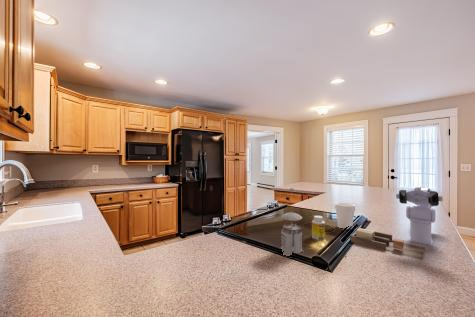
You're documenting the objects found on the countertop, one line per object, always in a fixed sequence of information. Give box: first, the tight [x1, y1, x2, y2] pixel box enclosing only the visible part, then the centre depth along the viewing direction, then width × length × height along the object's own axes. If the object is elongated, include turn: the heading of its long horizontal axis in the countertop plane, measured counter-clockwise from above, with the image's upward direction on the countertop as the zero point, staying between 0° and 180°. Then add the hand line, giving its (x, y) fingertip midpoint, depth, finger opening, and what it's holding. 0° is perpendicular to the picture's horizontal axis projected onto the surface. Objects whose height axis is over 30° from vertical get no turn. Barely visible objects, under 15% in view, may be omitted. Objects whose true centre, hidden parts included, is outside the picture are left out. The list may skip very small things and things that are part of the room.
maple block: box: [355, 227, 405, 250], centre depth 89 cm, size 4×16×5 cm, turn 46°
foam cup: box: [334, 202, 356, 229], centre depth 113 cm, size 10×9×13 cm
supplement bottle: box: [311, 215, 326, 241], centre depth 98 cm, size 6×6×10 cm
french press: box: [280, 187, 303, 257], centre depth 83 cm, size 10×12×25 cm
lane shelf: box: [349, 231, 426, 261], centre depth 90 cm, size 15×24×3 cm, turn 46°
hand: (416, 199), depth 82 cm, fingers open, 7 cm apart
